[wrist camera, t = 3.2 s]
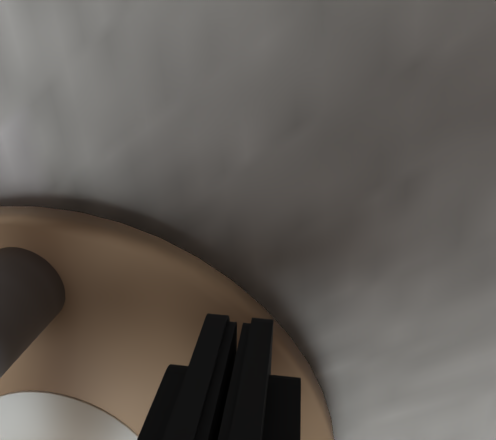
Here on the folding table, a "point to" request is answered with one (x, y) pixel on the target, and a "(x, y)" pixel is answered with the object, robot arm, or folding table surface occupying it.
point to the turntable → (110, 326)
